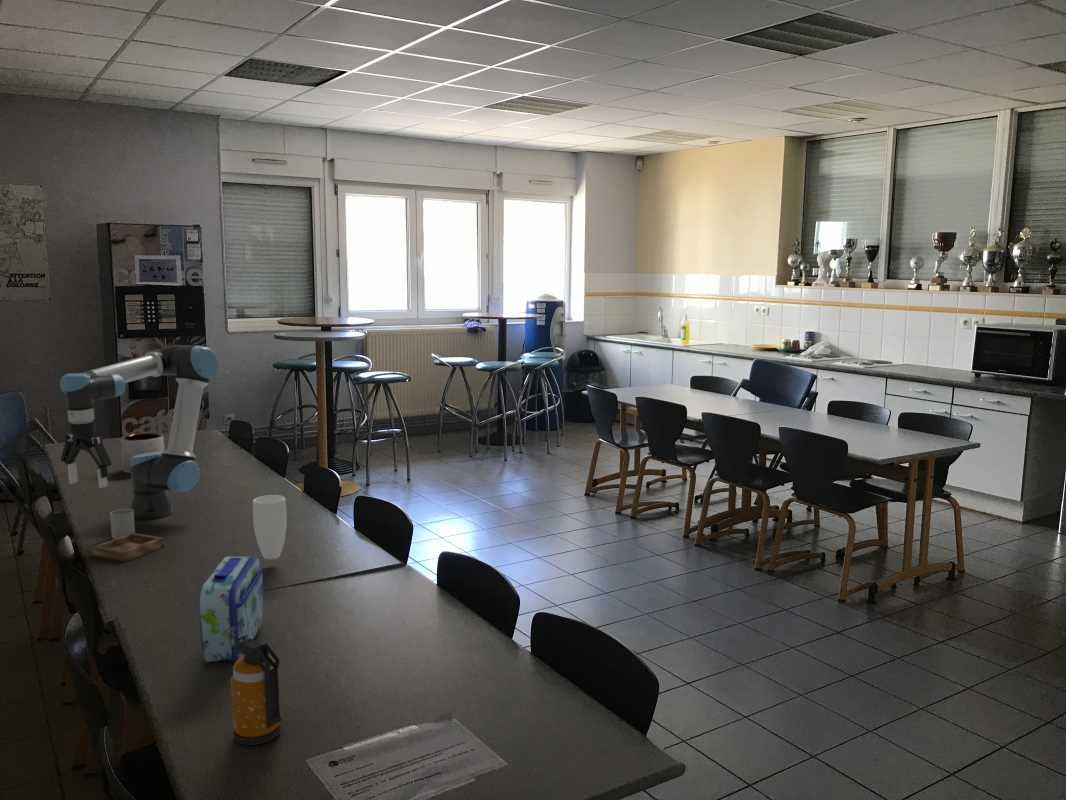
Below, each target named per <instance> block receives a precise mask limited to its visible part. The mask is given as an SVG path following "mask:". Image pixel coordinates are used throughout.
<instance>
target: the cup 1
mask: <svg viewBox="0 0 1066 800" xmlns="http://www.w3.org/2000/svg"><path fill="white" fill-rule="evenodd" d="M109 515H110V516H109V517H110V518H109V519H110V529H111V531H110V532H111V537H112V540H113V539H116V538H119V537H122V536H125V535H128V534H130V533H136V527H135V519H134V512H133V510H132V509H129V508H121V509H115V510H112V511H110V512H109Z"/></svg>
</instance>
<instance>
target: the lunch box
mask: <svg viewBox="0 0 1066 800" xmlns="http://www.w3.org/2000/svg"><path fill="white" fill-rule="evenodd" d="M263 604H264V597H263V568H262V566H261V561H260V557H259V555H258V554H257V555H256V554H253V555H249V556H248V555H247V556H225V557H224V558H223V559H222V561H220V563H219V564H218V565H217V567H216V568H215V569H214V571H213V572H212V573H211V574H210V575H209V577H208V579H207V580H206V581H205V582H204V583H203V585H202V586H201V589H200V593H199V598H198V627H199V628H198V629H199V636H200V643H201V650H202V658H203V660H204V662H206V663H210V662H219V661H228V660H229V661H233V662H234V663H235V662H236V661H237V660H238V659H240V658H241V657H243V656H245V655H244V654H242V653H241V649H238V648H237V646H236V644H238V643H240V642H241V641H244V640H246V639H249V638H251V639H253V640H254V639H255V637H256V635H257V633H258V631H259V629H260V627H261V624H262V619H263V606H264V605H263Z"/></svg>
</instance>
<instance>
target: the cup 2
mask: <svg viewBox="0 0 1066 800" xmlns="http://www.w3.org/2000/svg"><path fill="white" fill-rule="evenodd" d="M287 514H288V513H287V504H286V497H285V496H283V495H280V494H278V495H277V494H269V495H261V496H260V495H259V496H258V497H255V498H254V499H252V521H253V522H252V524H253V531H254V535H255V539H256V542H257V545H258V546H257V547H259V550H260V553H261V555H262V556H263V558H264V559H266V560H276V559H279V558H280V556H281V555H282V551H283V547H284V544H285V541H286V533H287V516H288V515H287Z"/></svg>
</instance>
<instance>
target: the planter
mask: <svg viewBox="0 0 1066 800" xmlns="http://www.w3.org/2000/svg"><path fill="white" fill-rule="evenodd" d="M164 442H165V441H164V434H163V433H159V432H139V433H132V434H127V435H124V436H122V437H121V438H120V446H121V463H122V465H121V466H122V471H123V472H124V473H126V474H130V475H131V471H130V460H131V458H132V457H133V456H136V455H140V454H144V453H150V452H163V451H165V443H164Z"/></svg>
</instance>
